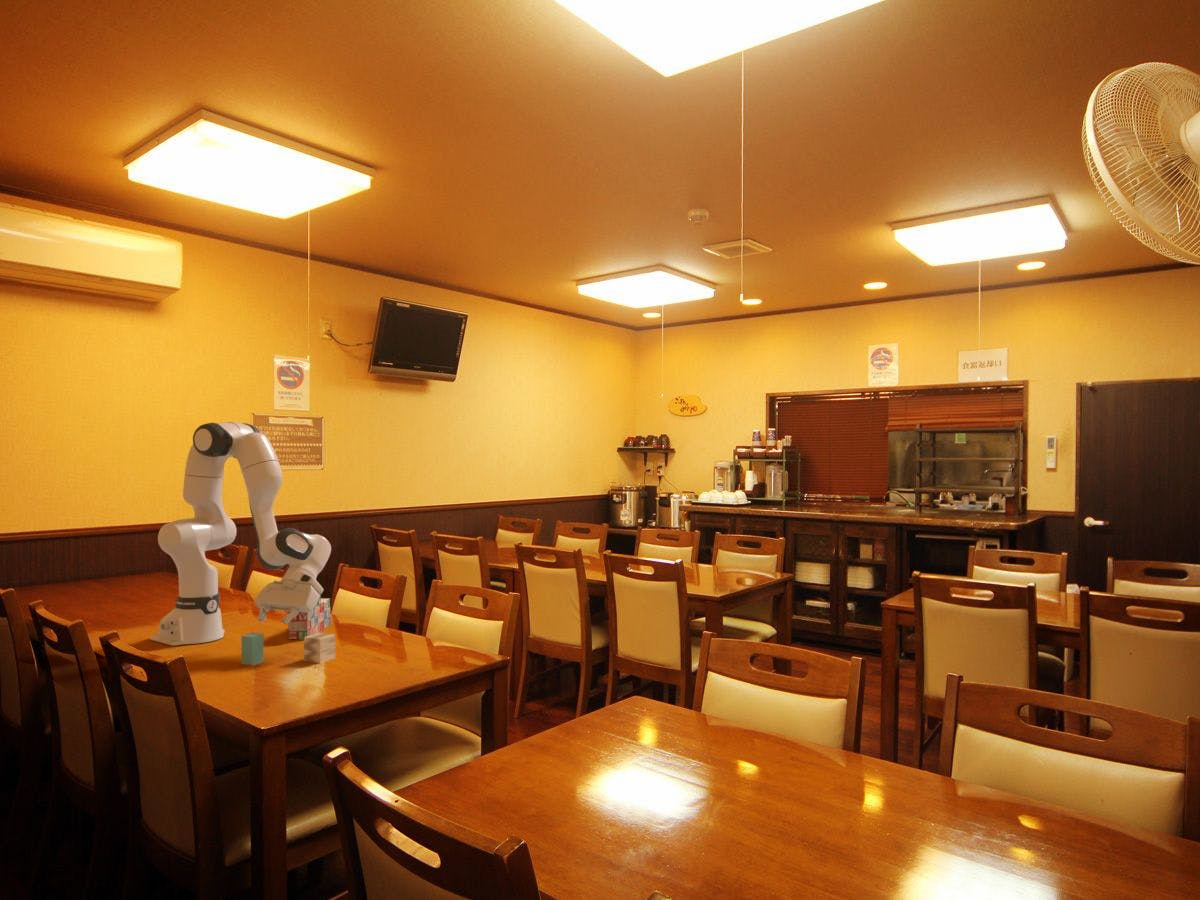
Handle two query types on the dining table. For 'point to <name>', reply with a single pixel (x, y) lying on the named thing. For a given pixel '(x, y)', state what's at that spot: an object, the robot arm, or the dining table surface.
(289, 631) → the multicoloured boxy piece
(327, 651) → the tower base
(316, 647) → the tower top
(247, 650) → the pillar
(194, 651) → the dining table surface
